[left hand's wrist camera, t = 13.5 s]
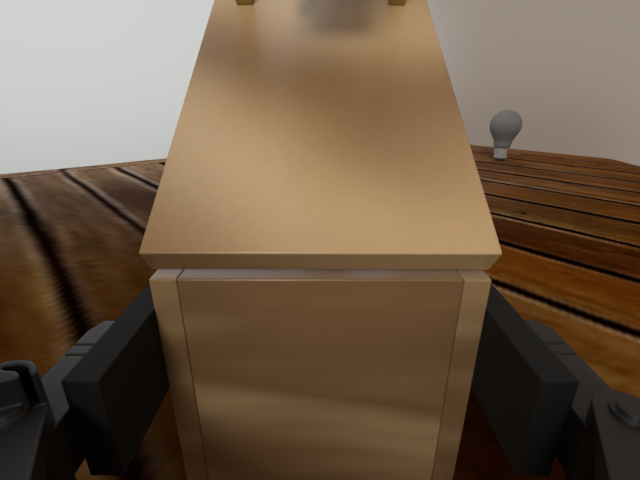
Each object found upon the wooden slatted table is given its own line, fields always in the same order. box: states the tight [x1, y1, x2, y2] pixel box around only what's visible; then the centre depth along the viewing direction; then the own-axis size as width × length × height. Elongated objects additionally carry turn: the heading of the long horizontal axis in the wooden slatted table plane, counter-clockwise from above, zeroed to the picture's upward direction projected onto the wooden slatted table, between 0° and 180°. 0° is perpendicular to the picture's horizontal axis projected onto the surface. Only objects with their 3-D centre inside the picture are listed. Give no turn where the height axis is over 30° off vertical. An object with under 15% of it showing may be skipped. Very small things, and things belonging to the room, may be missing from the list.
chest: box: [149, 269, 491, 480], centre depth 18 cm, size 15×9×9 cm, turn 0°
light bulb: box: [490, 110, 522, 160], centre depth 77 cm, size 6×6×10 cm
